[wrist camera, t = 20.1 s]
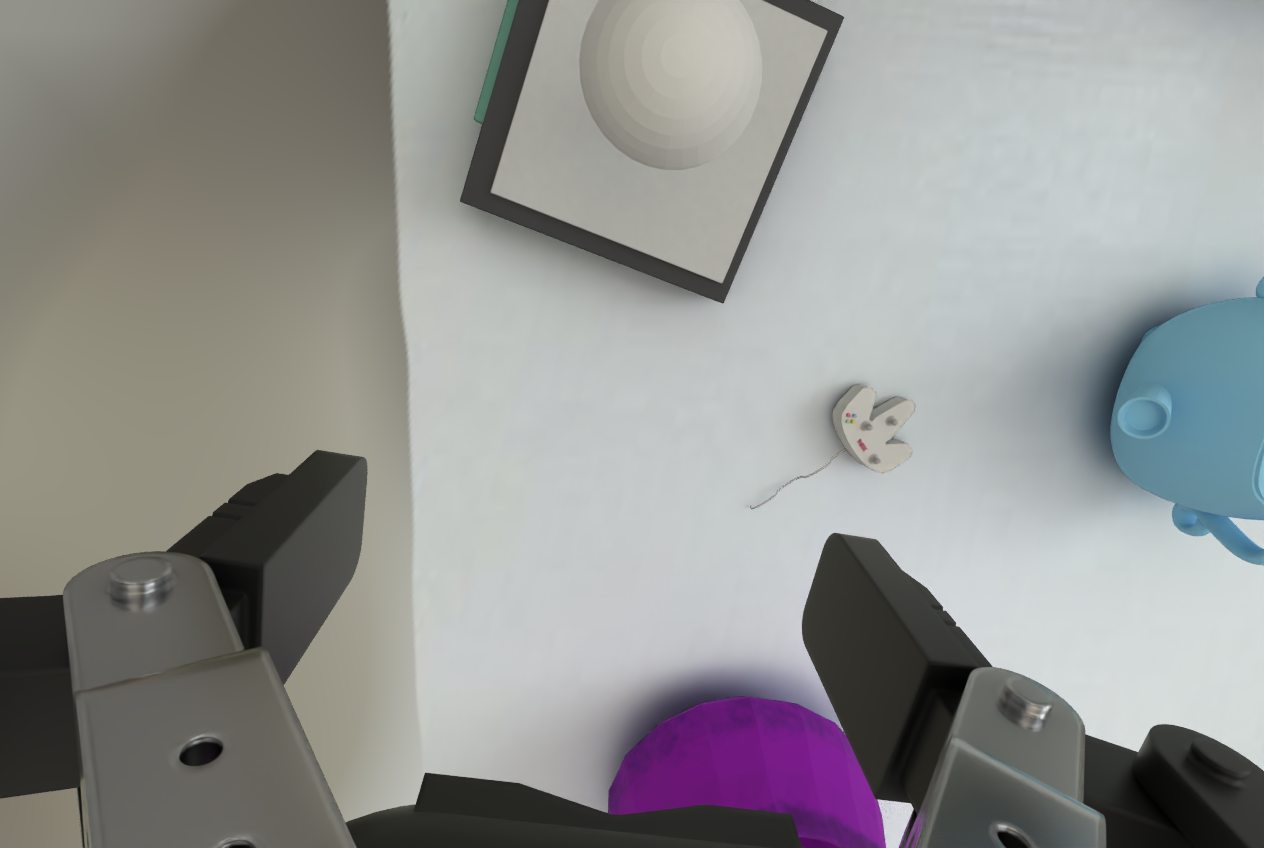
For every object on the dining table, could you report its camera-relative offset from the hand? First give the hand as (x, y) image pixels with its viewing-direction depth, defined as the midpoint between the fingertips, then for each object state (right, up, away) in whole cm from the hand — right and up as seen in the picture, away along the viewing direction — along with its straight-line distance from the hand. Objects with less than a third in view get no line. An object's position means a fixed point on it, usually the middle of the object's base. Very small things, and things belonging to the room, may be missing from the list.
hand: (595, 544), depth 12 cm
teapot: (+35, +4, +32) cm, 48 cm away
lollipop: (+1, +18, +22) cm, 29 cm away
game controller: (+13, 0, +33) cm, 35 cm away
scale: (+1, +19, +26) cm, 32 cm away
